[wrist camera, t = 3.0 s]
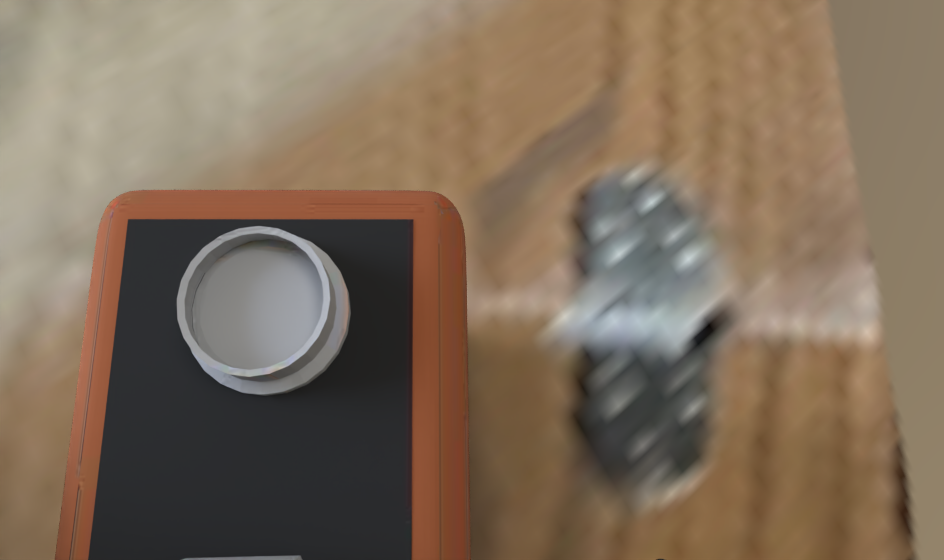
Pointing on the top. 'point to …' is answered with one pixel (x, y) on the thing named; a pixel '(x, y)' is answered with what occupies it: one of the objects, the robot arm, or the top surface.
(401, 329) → the battery
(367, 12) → the top surface
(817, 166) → the top surface
